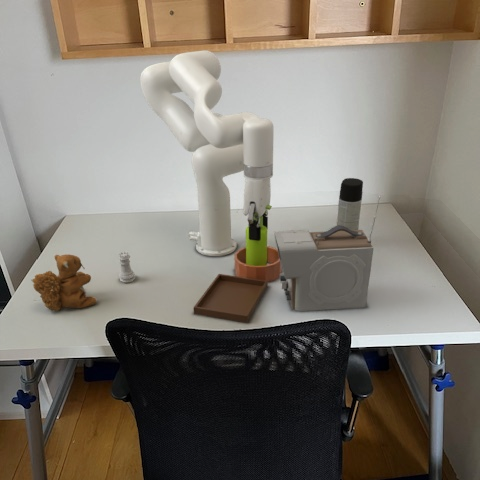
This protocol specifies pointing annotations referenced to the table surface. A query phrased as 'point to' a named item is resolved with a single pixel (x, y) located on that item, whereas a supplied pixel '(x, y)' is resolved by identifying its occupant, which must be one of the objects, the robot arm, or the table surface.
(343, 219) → the spray can
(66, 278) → the stuffed squirrel
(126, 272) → the rook chess piece
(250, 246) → the soap dispenser
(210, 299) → the tray
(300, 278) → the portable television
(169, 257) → the table surface
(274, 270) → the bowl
